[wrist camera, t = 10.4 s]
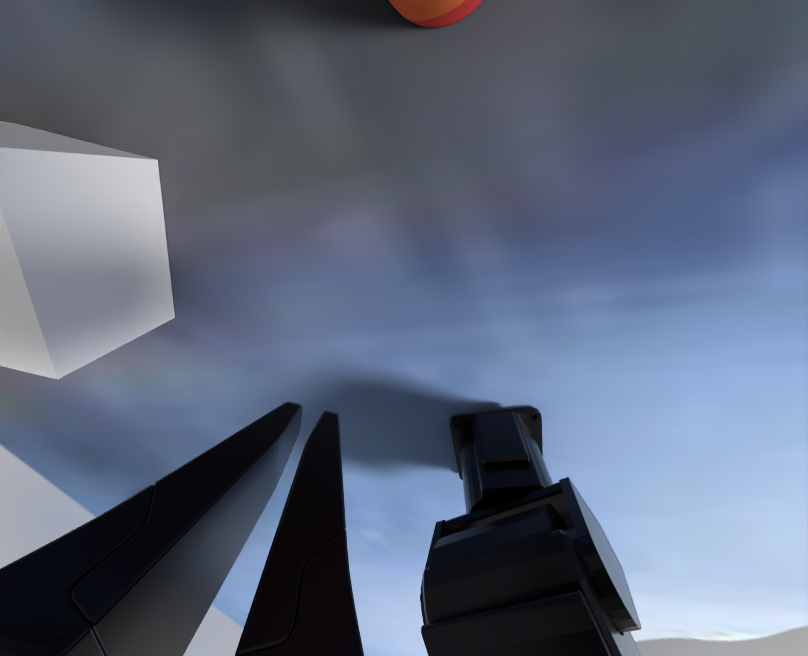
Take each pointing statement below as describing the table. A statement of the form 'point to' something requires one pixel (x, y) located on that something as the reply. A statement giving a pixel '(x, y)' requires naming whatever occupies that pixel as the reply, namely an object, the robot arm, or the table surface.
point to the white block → (77, 250)
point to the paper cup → (434, 11)
